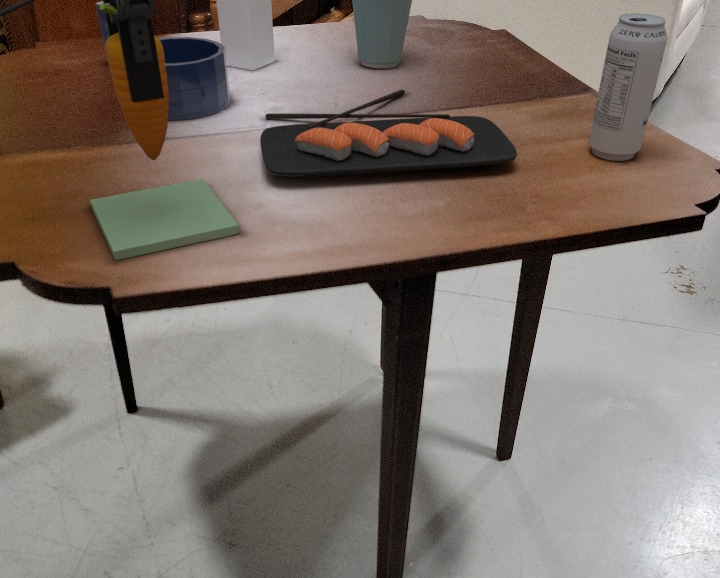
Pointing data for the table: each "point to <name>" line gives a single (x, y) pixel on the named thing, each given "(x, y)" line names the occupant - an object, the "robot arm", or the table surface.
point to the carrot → (140, 116)
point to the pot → (195, 77)
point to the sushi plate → (381, 143)
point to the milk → (246, 32)
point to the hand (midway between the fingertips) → (140, 89)
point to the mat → (162, 218)
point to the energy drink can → (627, 85)
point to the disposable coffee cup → (380, 31)
